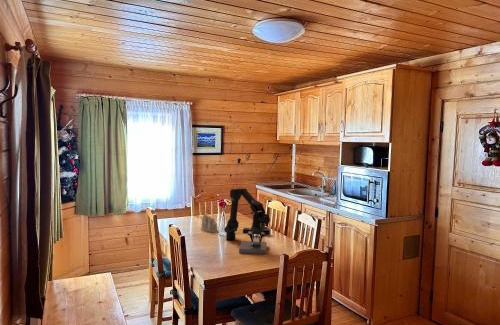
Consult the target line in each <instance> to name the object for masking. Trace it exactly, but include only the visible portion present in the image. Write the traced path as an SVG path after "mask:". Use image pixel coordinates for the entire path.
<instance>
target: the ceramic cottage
mask: <svg viewBox="0 0 500 325" xmlns="http://www.w3.org/2000/svg"><path fill="white" fill-rule="evenodd" d="M201 222H202V223H201V228H200V231H202V232H204V233H217V232H218V226H217V225H218V224H217V222H216V221H215V219H214V217H213V218H212V216H208V215H207V214H206V212H204V213H203V215H202V218H201Z"/></svg>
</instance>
